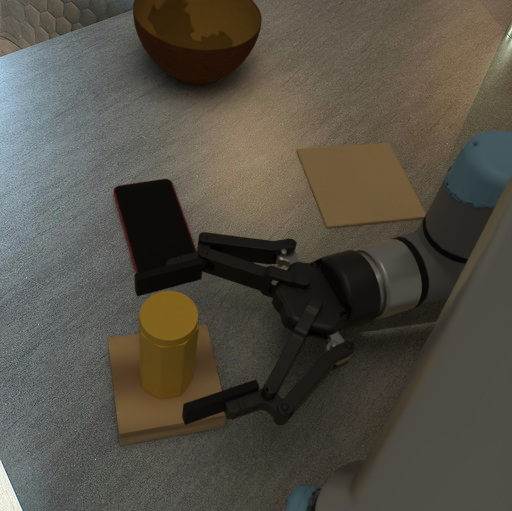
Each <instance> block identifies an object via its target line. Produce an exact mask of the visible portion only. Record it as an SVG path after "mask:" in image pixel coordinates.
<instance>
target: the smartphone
mask: <svg viewBox="0 0 512 511" xmlns="http://www.w3.org/2000/svg"><path fill="white" fill-rule="evenodd" d="M112 193H113V196H114V200H115V203H116V204H115V205H116V208H117V210H118V214H119V218H120V221H121V225H122V229H123V232H124V236H125V239H126V243H127V246H128V250H129V253H130V256H131V261H132V264H133V267H134V271H135V274H137V273H141V272H144V271H148V270H152V269H156V268H160V267H164V266H166V261H167V260H169V259H171V258H174V257H178V256H182V255H186V254H190V253H194V252H196V251H197V248H196V245H195V242H194V239H193V236H192V234H191V231H190V228H189V225H188V222H187V220H186V217H185V214H184V211H183V209H182V205H181V202H180V200H179V197H178V195H177V192H176V189H175V186H174V183H173V181H172V180H171V179H168V178H161V179H154V180H145V181H139V182H134V183H126V184H120V185H116V186H115V187H114V188H113V192H112Z"/></svg>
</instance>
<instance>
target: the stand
mask: <svg viewBox="0 0 512 511" xmlns="http://www.w3.org/2000/svg"><path fill="white" fill-rule="evenodd" d="M107 346H108V356H109V364H110V372H111V373H110V374H111V380H112V390H113V398H114V407H115V416H116V423H117V432H118V440H119V442H118V443H119V446H120V447H122V446H129V445H135V444H139V443H144V442H151V441H156V440H161V439H166V438H171V437H172V438H173V437H177V436H184V435H187V434H194V433H199V432H205V431H211V430H216V429H222V428H225V426H226V422H227V418H226V415H225V413H224V412H221V413H218V414H215V415H212V416H210V417H207V418H204V419H201V420H198V421H195V422H192V423H190V424H187V425H185V424H184V421H183V418H182V413H183V404H184V403H187V402H190V401H193V400H196V399H199V398H202V397H205V396H208V395H211V394H214V393H217V392H220V391H223V390H222V389H223V388H222V385H221V380H220V376H219V372H218V367H217V363H216V358H215V353H214V349H213V345H212V340H211V336H210V332H209V327H208V324H207V323H206V324H205V323H204V324H199V332H198V339H197V347H196V355H195V363H194V371H193V379H192V382H191V383H190V384H189V386H188V387H187V388H186V389H185V391H184V392H183V393H182V395H181V396H178V397H172V398H166V399H158V398H156V397H155V396H153V395H152V394H150V393H149V392H147V391H146V390H144V389H143V388H142V384H141V377H140V369H139V333H133V334H125V335H119V336H111V337H107Z"/></svg>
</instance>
